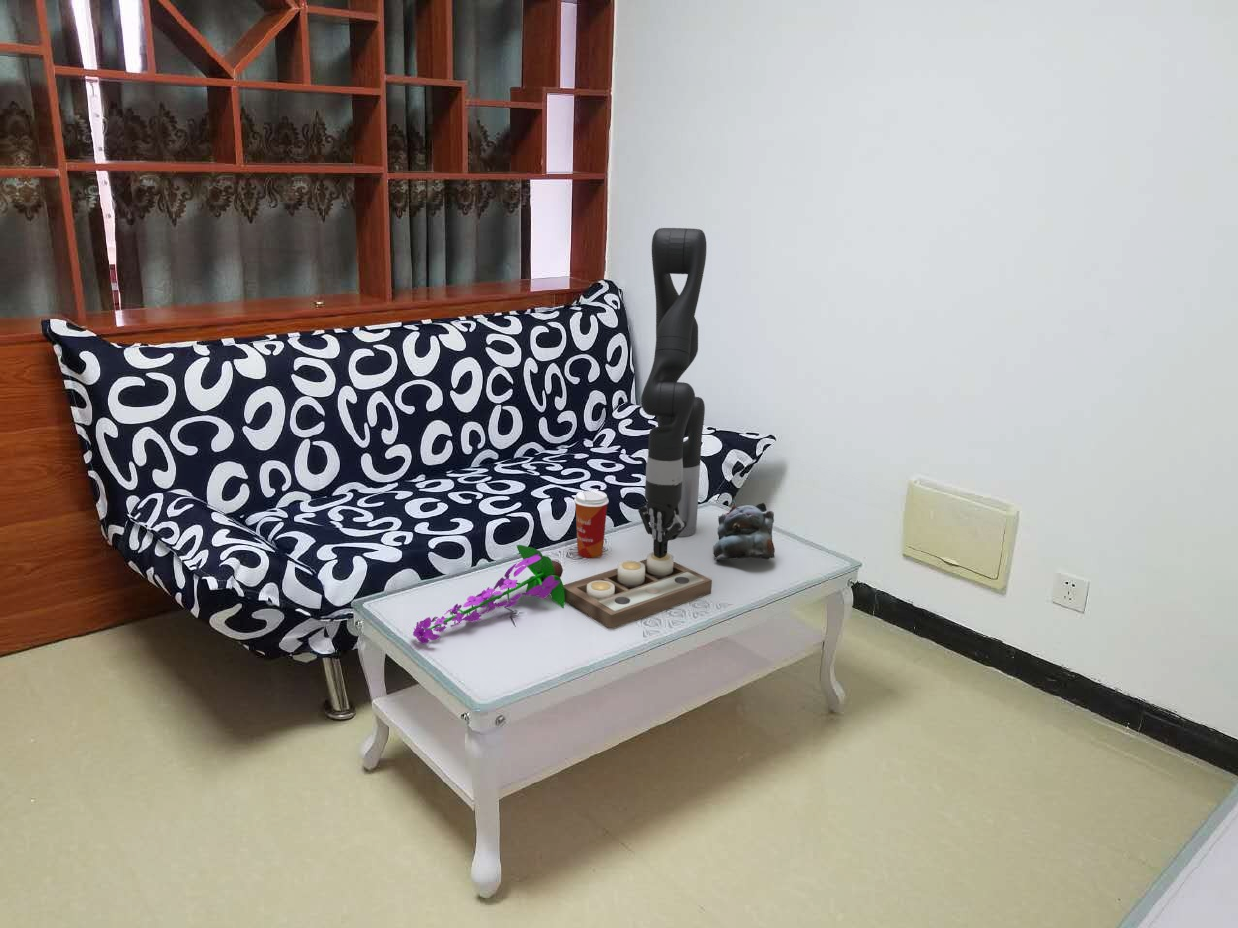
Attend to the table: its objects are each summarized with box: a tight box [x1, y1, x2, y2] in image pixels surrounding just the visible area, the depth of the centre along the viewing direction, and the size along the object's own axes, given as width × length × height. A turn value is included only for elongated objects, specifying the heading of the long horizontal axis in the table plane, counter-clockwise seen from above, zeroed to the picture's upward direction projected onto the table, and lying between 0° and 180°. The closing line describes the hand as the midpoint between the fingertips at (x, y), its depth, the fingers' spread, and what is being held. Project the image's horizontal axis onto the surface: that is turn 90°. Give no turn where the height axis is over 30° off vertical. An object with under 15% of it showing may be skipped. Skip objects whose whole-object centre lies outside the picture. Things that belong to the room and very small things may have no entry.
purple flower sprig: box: [412, 544, 566, 644], centre depth 186 cm, size 12×16×35 cm
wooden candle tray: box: [563, 558, 713, 630], centre depth 198 cm, size 16×27×3 cm, turn 130°
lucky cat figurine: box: [712, 502, 776, 562], centre depth 218 cm, size 15×12×14 cm
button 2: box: [646, 551, 675, 576], centre depth 203 cm, size 6×6×3 cm
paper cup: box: [573, 489, 610, 559], centre depth 216 cm, size 8×8×14 cm
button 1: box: [587, 580, 615, 600], centre depth 194 cm, size 6×6×3 cm
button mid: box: [617, 560, 645, 585], centre depth 198 cm, size 6×6×3 cm
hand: (660, 556), depth 202 cm, fingers closed
